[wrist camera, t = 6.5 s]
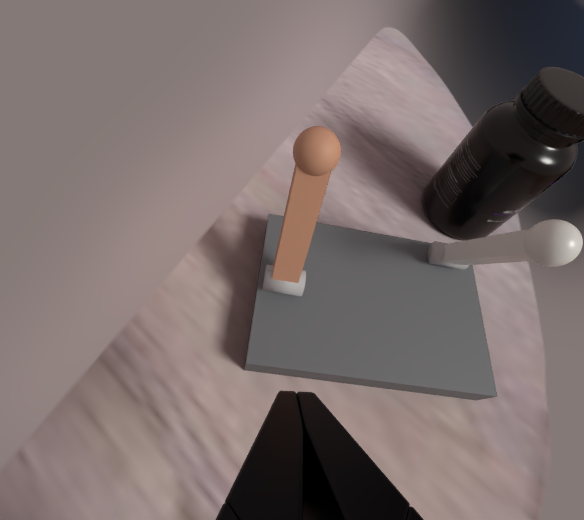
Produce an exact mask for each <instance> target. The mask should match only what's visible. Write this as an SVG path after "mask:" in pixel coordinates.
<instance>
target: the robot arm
mask: <svg viewBox="0 0 584 520" xmlns="http://www.w3.org/2000/svg"><path fill="white" fill-rule="evenodd" d="M409 506H410V504H409V502H408V501H407V500H406V499H405V498H404V497H403V495H402V494H401V493H400V492H399V491H398V490H397V488H396V487H395V486H394V485H393V484H392V483H391V481H390V480H389V479H388V478H387V477H386V476H385V475H384V473H383V472H382V471H381V470H380V469H379V468H378V466H377V465H376V464H375V463H374V462H373V461H372V460H371V458H370V457H369V456H368V455H367V454H366V453H365V451H364V450H363V449H362V448H361V447H360V446H359V444H358V443H357V442H356V441H355V440H354V439H353V438H352V436H351V435H350V434H349V433H348V432H347V431H346V429H345V428H344V427H343V426H342V425H341V424H340V422H339V421H338V420H337V419H336V418H335V417H334V416H333V414H332V413H331V412H330V411H329V410H328V409H327V407H326V406H325V405H324V404H323V403H322V402H321V400H320V399H319V398H318V397H317V396H316V395H315V394H314V393H312V392H298V393H297V394H296V393H295V392H294V391H279V393H278V394H277V396H276V398H275V400H274V402H273V404H272V407H271V409H270V411H269V413H268V415H267V417H266V419H265V421H264V423H263V425H262V427H261V429H260V431H259V433H258V435H257V437H256V439H255V441H254V443H253V445H252V447H251V449H250V451H249V453H248V455H247V457H246V459H245V461H244V463H243V465H242V468H241V470H240V472H239V474H238V476H237V478H236V480H235V482H234V484H233V486H232V488H231V490H230V492H229V494H228V496H227V498H226V500H225V503H224V504H223V506H222V508H221V510H220V512H219V514H218V516H217V518H216V520H424V519H423V518H422V517H421V516H420V515H419V514H418V513H417V511H416V510H415V509H414V508H413V507H409Z"/></svg>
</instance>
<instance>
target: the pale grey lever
mask: <svg viewBox="0 0 584 520" xmlns="http://www.w3.org/2000/svg"><path fill="white" fill-rule="evenodd" d="M582 245H583V240H582V236H581V234H580V232H579V230H578V229H577V228H576V227H575V226H573V225H572V224H570V223H568V222H565V221H563V220H555V219H554V220H546V221H542V222H539V223H537V224H536V225H534V226H533V227H531V228H530V229H527V230H521V231H516V232H510V233H505V234H499V235H494V236H488V237H483V238H477V239H472V240H466V241H461V242H455V243H450V244H447V243H441V242H436V241H435V242H433V243H432V244H431V245H430V247H429V250H428V254H427V258H428V261H429V263H430V264H435V265H441V266H446V267H452V268H458V269H466V268H467V267H468V266H469V265H476V264H491V263H506V262H521V261H534V262H536V263H538V264H540V265H544V266H551V267H554V266H561V265H564V264H567V263H569V262H571V261H572V260H574V259H575V258H576V257H577V256H578V254H579V253H580V251H581V249H582Z"/></svg>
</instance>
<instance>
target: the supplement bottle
mask: <svg viewBox="0 0 584 520" xmlns="http://www.w3.org/2000/svg"><path fill="white" fill-rule="evenodd" d="M582 141H584V78H583V77H582V76H580V75H578V74H576V73H574V72H571V71H569V70H565V69H562V68H557V67H549V68H544V69H542V70H540V71H539V72H538V73H537V74H536V75H535V77H534V78H533V79H532V80H531V81H530V83H529V84H528V85H527V86H526V87H524V88H523V89H521V90H520V92H519V93H518V94H517V96H516V98H515V101H508V102H503V103H500V104H498V105H495V106H493V107H492V108H490V109H489V110H487V111H486V112H485V114H483V116H482V117H481V118H480V119H479V121H478V122H477V123H476V124H475V125H474V127H473V128H472V129H471V130H470V132H469V133H468V134H467V135H466V137H465V138H464V139H463V140H462V142H461V143H460V144H459V145H458V147H457V148H456V149H455V150H454V152H453V153H452V154H451V155H450V157H449V158H448V159H447V160H446V162H445V163H444V164H443V165H442V167H441V168H440V169H439V170H438V172H437V173H436V174H435V175H434V177H433V178H432V179H431V181H430V182H429V183H428V185H427V186H426V188H425V190H424V193H423V206H424V209H425V212H426V214H427V215H428V217H429V219H430V220H431V221H432V222H433V224H434V225H435V226H436V227H438V228H439V229H440V230H441V231H443V232H444V233H446V234H448V235H450V236H452V237H454V238H457V239H461V240H472V239H477V238H483V237H486V236H488V235H489V234H490V233H492V232H493V231H494V230H496V229H497V228H498V227H500V226H501V225H502V224H503V223H505V222H506V221H507V220H509V219H510V218H511V217H512V216H514V215H515V214H516V213H517V212H519V211H520V210H521V209H523V208H524V207H525V206H526V205H528V204H529V203H530V202H531V201H532V200H534V199H535V198H537V197H538V196H539V195H540V194H542V193H543V192H544V191H546V189H548V188H549V187H551V186H552V185H553V184H554V183H556V182H557V181H558V180H559V179H561V178H562V177H563V176H564V175H565V174H566V173H568V172H569V171H570V170H571V168H572V167H573V165H574V163H575V160H576V157H577V144H576V143H580V142H582Z"/></svg>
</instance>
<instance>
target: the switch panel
mask: <svg viewBox="0 0 584 520" xmlns="http://www.w3.org/2000/svg"><path fill="white" fill-rule="evenodd" d="M283 219H284V216H278V215H273V214H269V217H268V222H267V227H266V232H265V239H264V245H263V252H262V258H261V265H260V271H259V278H258V284H257V290H256V297H255V303H254V310H253V316H252V323H251V329H250V335H249V342H248V348H247V355H246V361H245V368H244V370H248V371H256V372H263V373H271V374H279V375H286V376H294V377H302V378H310V379H317V380H325V381H333V382H340V383H348V384H356V385H364V386H371V387H379V388H387V389H394V390H402V391H410V392H418V393H425V394H433V395H441V396H448V397H456V398H464V399H472V400H480V399H486V398H491V397H497V392H496V387H495V382H494V376H493V371H492V366H491V361H490V355H489V350H488V345H487V340H486V334H485V329H484V324H483V319H482V313H481V308H480V303H479V298H478V292H477V287H476V282H475V276H474V271H473V266H472V265H469V266H468V267H467V268H466V269H458V268H452V267H446V266H441V265H435V264H430V263H429V261H428V258H427V254H428V250H429V247H430V245H431V244H432V243H427V242H421V241H416V240H410V239H405V238H399V237H394V236H388V235H383V234H377V233H372V232H366V231H361V230H355V229H350V228H344V227H339V226H333V225H328V224H322V223H317V222H316V225H315V229H314V232H313V236H312V239H311V242H310V246H309V249H308V253H307V256H306V259H305V263H304V266H303V271H306V281H305V287H304V292H303V295H302V296H295V295H289V294H282V293H276V292H270V291H263V282H264V276H265V270H266V266H267V265H273V264H274V260H275V255H276V251H277V246H278V241H279V237H280V232H281V228H282V223H283Z"/></svg>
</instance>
